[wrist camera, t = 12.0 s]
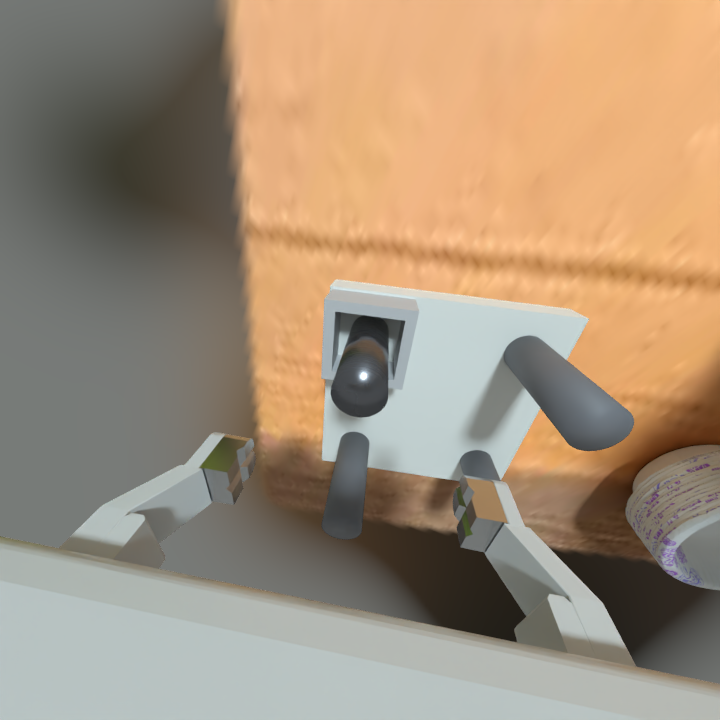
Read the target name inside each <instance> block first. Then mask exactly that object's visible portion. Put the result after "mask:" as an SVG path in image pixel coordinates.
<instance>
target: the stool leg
mask: <svg viewBox="0 0 720 720" xmlns="http://www.w3.org/2000/svg"><path fill="white" fill-rule="evenodd" d="M388 367H389V329H388V326H387V324H386V322H385V321H384V320H383V319H382V318H381V317H373V316H365V315H363V316H360V317H359V318H357V319H356V320H355V321H354V323H353V325H352V328H351V330H350V333H349V336H348V339H347V342H346V345H345V348H344V351H343V354H342V357H341V360H340V363H339V366H338V369H337V372H336V374H335V377H334V380H333V383H332V386H331V398H332V400H333V402H334V404H335V405H336V407H337V408H338V409H339V410H341V411H342V412H344V413H345V414H347V415H350V416H353V417H370V416H373V415H375V414H377V413H379V412H380V411H381V410H382V409H383V408H384V407H385V405H386V404H387V401H388Z"/></svg>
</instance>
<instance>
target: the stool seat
mask: <svg viewBox="0 0 720 720" xmlns="http://www.w3.org/2000/svg"><path fill="white" fill-rule="evenodd" d="M363 315H365V316H373V317H381V318H382V319H383V320H384V321H385V322H386V324H387V326H388V329H389V367H388V401H387V404H386V405H385V407H384V408H383V409H382V410H381V411H380V412H379V413H377V414H375V415H373V416H370V417H353V416H350V415H347V414H345V413H344V412H342V411H341V410H339V409H338V408H337V407H336V405H335V404H334V402H333V400H332V398H331V386H332V383H333V380H334V377H335V374H336V372H337V369H338V366H339V363H340V360H341V357H342V354H343V351H344V348H345V345H346V342H347V339H348V336H349V333H350V330H351V328H352V325H353V323H354V321H355V320H356V319H357V318H359V317H360V316H363ZM588 320H589V319H588V318H586V317H584V316H583V315H581V314H579V313H577V312H575V311H573V310H571V309H567V308H559V307H551V306H543V305H535V304H527V303H520V302H512V301H504V300H496V299H488V298H480V297H472V296H464V295H457V294H449V293H441V292H433V291H425V290H417V289H409V288H401V287H394V286H386V285H378V284H370V283H362V282H354V281H346V280H339V279H336V280H335V281H334V282H333V283H332V284H331V285H330V293H329V294H328V295H327V296H326V298H325V299H324V324H323V350H322V377H321V378H322V379H326V385H325V406H324V427H323V448H322V460H324V461H331V462H335V466H334V471H333V475H332V480H331V484H330V489H329V493H328V498H327V502H326V507H325V511H324V516H323V520H322V529H323V530H324V531H325V532H326V533H327V534H328V535H330V536H332V537H334V538H338V539H353V538H356V537H358V536H359V535H360V534H361V532H362V522H363V511H364V500H365V488H366V477H367V467H370V468H377V469H383V470H390V471H396V472H403V473H409V474H416V475H422V476H429V477H435V478H442V479H448V480H455V481H460V478H461V477H462V476H463V475H466V476H473V477H479V478H485V479H490V480H496V481H501V479H502V477H503V475H504V474H505V472H506V470H507V468H508V466H509V464H510V463H511V461H512V459H513V457H514V455H515V454H516V452H517V450H518V448H519V446H520V444H521V443H522V441H523V439H524V437H525V435H526V433H527V432H528V430H529V428H530V426H531V424H532V422H533V421H534V419H535V417H536V415H537V413H538V412H539V410H540V408H541V409H542V411H543V412H544V413H545V414H546V416H547V417H548V418H549V420H550V421H551V422H552V423H553V425H554V426H555V427H556V429H557V430H558V431H559V432H560V434H561V435H562V436H563V437H564V439H565V440H566V441H567V443H568V444H569V445H570V446H572V447H573V448H576V449H579V450H583V451H596V450H602V449H606V448H609V447H611V446H613V445H615V444H617V443H619V442H621V441H622V440H623V439H624V438H626V437H627V436H628V435H629V433H630V432H631V430H632V428H633V425H634V418H633V416H632V414H631V413H630V412H629V411H628V410H627V409H625V408H624V407H623V406H622V405H621V404H619V403H618V402H617V401H616V400H614V399H613V398H612V397H611V396H610V395H608V394H607V393H606V392H605V391H604V390H602V389H601V388H600V387H599V386H597V385H596V384H595V383H594V382H593V381H591V380H590V379H589V378H588V377H586V376H585V375H584V374H583V373H582V372H580V371H579V370H578V369H577V368H575V367H574V366H573V365H572V364H571V363H569V362H568V361H567V359H568V357H569V355H570V353H571V351H572V349H573V348H574V346H575V344H576V342H577V340H578V338H579V337H580V335H581V333H582V331H583V329H584V328H585V326H586V324H587V322H588ZM486 557H487V556H486ZM487 559H488V558H487Z"/></svg>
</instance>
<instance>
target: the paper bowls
mask: <svg viewBox="0 0 720 720" xmlns="http://www.w3.org/2000/svg"><path fill="white" fill-rule="evenodd" d="M625 510H626V511H625V512H626V518H627V521H628V522H629V524H630V525H631V526H632V528H633V530H634V531H635V533H636V534H637V536H638V537H639V538H640V539H641V540H642V542H643V543H644V545H645V546H646V548H647V549H648V550H649V552H650V553H651V554H652V556H653V557H654V558H655V560H656V561H657V562H658V564H659V565H660V566H661V568H663V570H664V571H666V572H667V573H668V574H670V575H671V576H673V577H674V578H676V579H678V580H680V581H682V582H684V583H688V584H690V585H693V586H698V587H703V588H707V589H714V590H720V445H697V446H690V447H685V448H681V449H677V450H674V451H671V452H668V453H666V454H664V455H662V456H660V457H658V458H656V459H654V460H653V461H651V462H650V463H648V464H647V465H646V466H645V467H643V468H642V469H641V470H640V472H639V473H638V474H637V476H636V478H635V480H634V483H633V494H632V495H631V496H630V498H629V499H628V503H627V507H626V509H625Z"/></svg>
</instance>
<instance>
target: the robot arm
mask: <svg viewBox="0 0 720 720" xmlns="http://www.w3.org/2000/svg"><path fill="white" fill-rule="evenodd" d="M253 447H254V442H253V440H252V439H248V438H243V437H238V436H233V435H228V434H223V433H217V432H214V433H213V434H211V435H210V436H209V437H208V438H207V439H206V441H205V442H204V443H203V444H202V445H201V447H200V448H199V449H198V450H197V451H196V452H195V453H194V455H193V456H192V457H191V458H190V460H189V461H188V462H187V463H186V464H185V465H179V466H178V467H175V468H173V469H172V470H170V471H168V472H166V473H164V474H162V475H160V476H158V477H156V478H154V479H153V480H150V481H148V482H147V483H145V484H143V485H141V486H139V487H137V488H135V489H133V490H131V491H129V492H127V493H125V494H123V495H121V496H119V497H118V498H116V499H114V500H112V501H110V502H108V503H106V504H104V505H102V506H101V507H100V508H99V509H98V510H97V511H96V512H95V513H94V514H93V515H92V516H91V517H90V518H89V519H88V520H87V521H86V522H85V523H84V524H83V525H82V526H81V527H80V528H79V529H78V530H77V531H76V532H75V533H74V534H73V535H72V536H71V537H69V538H68V539H67V541H66V542H64V543H63V544H62V545H61V546H60V547H59V548H55V547H50V546H45V545H41V544H36V543H31V542H26V541H21V540H16V539H11V538H6V537H1V536H0V720H720V684H717V683H712V682H706V681H702V680H697V679H692V678H687V677H682V676H678V675H673V674H668V673H663V672H658V671H653V670H649V669H644V668H639V667H636V665H635V663H634V662H633V660H632V658H631V656H630V654H629V652H628V650H627V648H626V646H625V644H624V643H623V641H622V639H621V637H620V635H619V633H618V631H617V629H616V627H615V626H614V624H613V622H612V620H611V618H610V616H609V614H608V612H607V610H606V608H605V606H604V605H603V603H602V602H601V601H600V600H599V599H598V598H597V597H596V596H595V595H594V594H593V592H592V591H591V590H590V589H589V588H588V587H587V586H586V585H585V584H584V583H583V582H582V581H581V580H580V579H579V578H578V577H577V576H576V575H575V574H574V573H573V572H572V571H571V570H570V569H569V568H568V567H567V566H566V565H565V564H564V563H563V562H562V561H561V560H560V559H559V558H558V557H557V556H556V555H555V554H554V552H553V551H552V550H551V549H550V548H549V547H548V546H547V545H546V544H545V543H544V542H543V541H542V540H541V539H540V538H539V537H538V536H537V535H536V534H535V533H534V532H533V531H532V530H531V529H530V528H528V527H525V526H524V523H523V521H522V518H521V516H520V513H519V511H518V509H517V506H516V504H515V501H514V499H513V497H512V494H511V492H510V489H509V487H508V485H507V484H506V483H505V482H502V481H496V480H490V479H485V478H479V477H473V476H466V475H463V476H462V477H461V478H460V481H459V483H460V487H458V488H456V490H455V492H454V495H453V510H454V515H455V517H456V518H457V519H458V520H459V524H458V526H457V532H458V537H459V542H460V547H462V548H467V549H471V550H476V551H481V552H485V555H486V556H487V558H488V560H489V561H490V562H491V564H492V565H493V567H494V568H495V570H496V571H497V573H498V574H499V576H500V578H501V579H502V581H503V582H504V584H505V585H506V587H507V588H508V589H509V591H510V592H511V594H512V595H513V597H514V598H515V600H516V602H517V603H518V605H519V606H520V608H521V609H522V611H523V612H524V613H525V615H526V617H525V619H523V620H522V621H521V622H520V623H519V624H518V625H517V626H516V628H515V630H514V631H515V635H516V639H517V642H513V641H508V640H502V639H498V638H492V637H488V636H483V635H479V634H473V633H468V632H464V631H459V630H454V629H449V628H444V627H440V626H435V625H430V624H425V623H420V622H415V621H410V620H405V619H401V618H396V617H391V616H386V615H381V614H377V613H372V612H367V611H362V610H357V609H352V608H347V607H342V606H338V605H333V604H327V603H323V602H318V601H313V600H309V599H304V598H299V597H294V596H289V595H284V594H279V593H275V592H269V591H265V590H260V589H255V588H249V587H245V586H240V585H236V584H230V583H226V582H221V581H216V580H211V579H206V578H201V577H196V576H192V575H187V574H182V573H177V572H172V571H167V570H162V569H159V568H160V566H161V565H162V563H163V561H164V560H165V555H164V553H163V551H162V549H161V547H160V545H159V543H160V542H161V541H163V540H164V539H166V538H167V537H168V536H169V535H171V534H172V533H173V532H175V531H176V530H177V529H178V528H180V527H181V526H182V525H184V524H185V523H186V522H187V521H189V520H190V519H191V518H193V517H194V516H195V515H196V514H198V513H199V512H200V511H202V510H203V509H204V508H205V507H207V506H208V505H209V504H211V502H212V501H214V502H221V503H226V504H233V505H234V504H235V502H236V500H237V499H238V497H239V495H240V493H241V492H242V490H243V484H242V482H244V481H245V480H247V479H248V478H249V477H250V475H251V473H252V472H253V469H254V466H255V461H256V456H255V453H254V452H253V451H252V449H253Z"/></svg>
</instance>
